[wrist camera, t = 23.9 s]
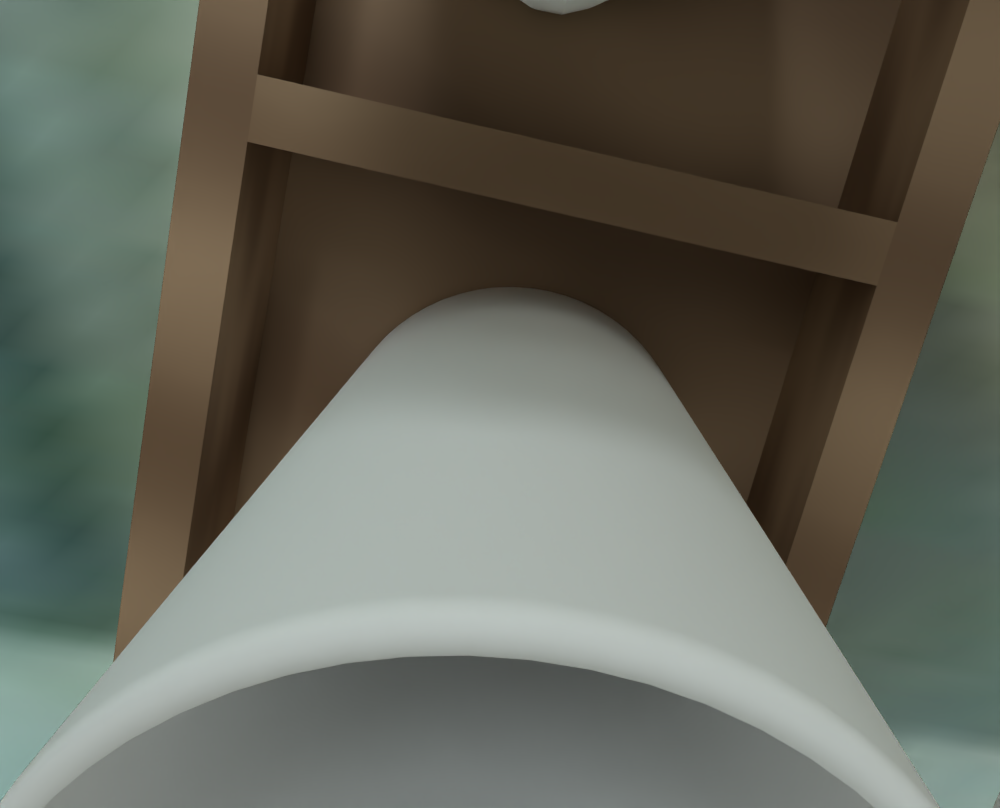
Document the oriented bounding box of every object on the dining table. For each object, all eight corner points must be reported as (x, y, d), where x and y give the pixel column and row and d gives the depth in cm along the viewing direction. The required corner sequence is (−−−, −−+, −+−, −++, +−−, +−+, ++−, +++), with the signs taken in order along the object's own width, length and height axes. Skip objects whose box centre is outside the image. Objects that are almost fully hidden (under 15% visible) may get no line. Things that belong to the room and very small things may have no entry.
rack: (365, -630, 18) (315, -885, 14) (1085, -447, 18) (1260, -637, 14) (177, 639, 25) (102, 741, 20) (703, 751, 25) (740, 874, 21)
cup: (654, 634, 23) (910, 1580, 8) (327, 596, 23) (-78, 1465, 8) (710, 308, 21) (1208, 704, 6) (350, 266, 21) (-139, 549, 6)
